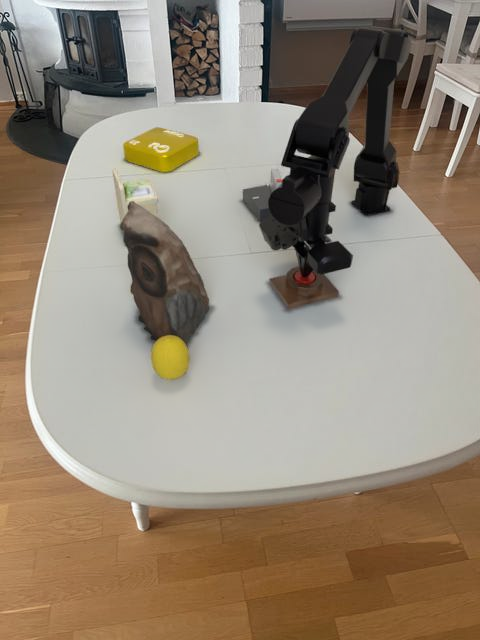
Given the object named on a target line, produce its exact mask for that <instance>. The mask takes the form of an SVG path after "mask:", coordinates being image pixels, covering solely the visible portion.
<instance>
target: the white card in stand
mask: <svg viewBox="0 0 480 640" xmlns="http://www.w3.org/2000/svg"><path fill="white" fill-rule="evenodd" d="M269 180H270V181H269V184H270V188H271V191H272V192H273V191H274V190H275V189H276V188H277V187H279V186H280V185H281V184H282V180H283V178H282V175H281V173H280V170H279V168H278V167H277V168H276V167H275V168H270V179H269Z"/></svg>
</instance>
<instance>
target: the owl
mask: <svg viewBox="0 0 480 640" xmlns="http://www.w3.org/2000/svg"><path fill="white" fill-rule="evenodd" d="M127 207H128V212H127V214H126V215H125V217H124V218H123V220H122V222H120V225H119V228H120V229H121V231H122V232H123V231H124V232H123V244H124V245H125V247H126V249H127V252H128V253H127V268H128V270H129V273H130V276H131V284H130V289H129V290H130V293H131V295H132V296H133V301H134V303H135V305H136V307H137V309H138V311H139V316H138V317H137V318H138V322H139V323H142V324H143V325H144V328H143V330H144V331H146V332H148V333H149V335H150V337H149V338H150V340H152V341H155V342H156V341H157V340H158V339H159V338H161V337H163V336H166V335H174V336H177V337H179V338H180V339H182V340H183V341H184V343H185V344H186V345H187V342H189V340H190V339H189V338H190V337H191V336H192V335H194V334H195V331H196V329H197V328H198V327H199V325H200V324H201V323H203V322H204V320H205V319H206V317H207V314H208V313H209V311H210V309H211V306H210V298H209V297H208V293H207V290H206V287H205V283H204V280H203V279H202V276H201V274H200V273H199V271H198V269H197V268H196V266H195V264H194V262H193V259H192V257H191V255H190V252H189V251H188V248H187V247H186V246H185V244H184V242H183V240H182V239H181V238H180V237H179V236H178V235H177V234H176V232H174V231H173V229H172V228H171V227H170V226H169V225H168V224H167V223H166V222H164V221H163V220H161V218H159V217H158V218H157V217H156V216H154V215H153V214H151V213H150V212H148V211H147V210H146V209H144V208H143V207H142V206H140V205H138V204H136V203H135V202H134V201H131V202H129V205H128V206H127Z"/></svg>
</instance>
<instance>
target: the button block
mask: <svg viewBox="0 0 480 640" xmlns="http://www.w3.org/2000/svg"><path fill="white" fill-rule="evenodd" d="M298 271H300V268H299V266H296V267H291V269H290V270H288V271H287V272H286V274H284V275H279V276H274V277H271V278H269V285H270V287H271V288H272V289H273V291H274V292H275V294H276V295H277V296H278V298H279V300H280V301H281V302H282V303H283V305H284V306H285V308H286V310H291V309H296V308H299V307H303V306H306V305H310V304H314V303H319V302H322V301H326V300H330V299H334V298H338V297H339V294H340V291H339V290H338V289H337V287H335V285H334V284H333V283H332V282H331V281H330V279H329V278H328V277H327V276H326V275H325V274H318V273H316V272H315V271H314V270H313V271H312V273H313V274H314V275H315V281H314V282H313V283H310V284H301V283H299V282H296V281H295V280H294V277H295V274H296V272H298Z"/></svg>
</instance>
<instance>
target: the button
mask: <svg viewBox="0 0 480 640" xmlns="http://www.w3.org/2000/svg"><path fill="white" fill-rule="evenodd" d="M294 280H295V281H296V282H299V283H301V284H310V283H313V282H314V281H315V275H314V274H313V273H312V272H311V274H310V275H309V276H308V277H303V276H302V275H301V272H300V271H298V272H296V274H295V277H294Z"/></svg>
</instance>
